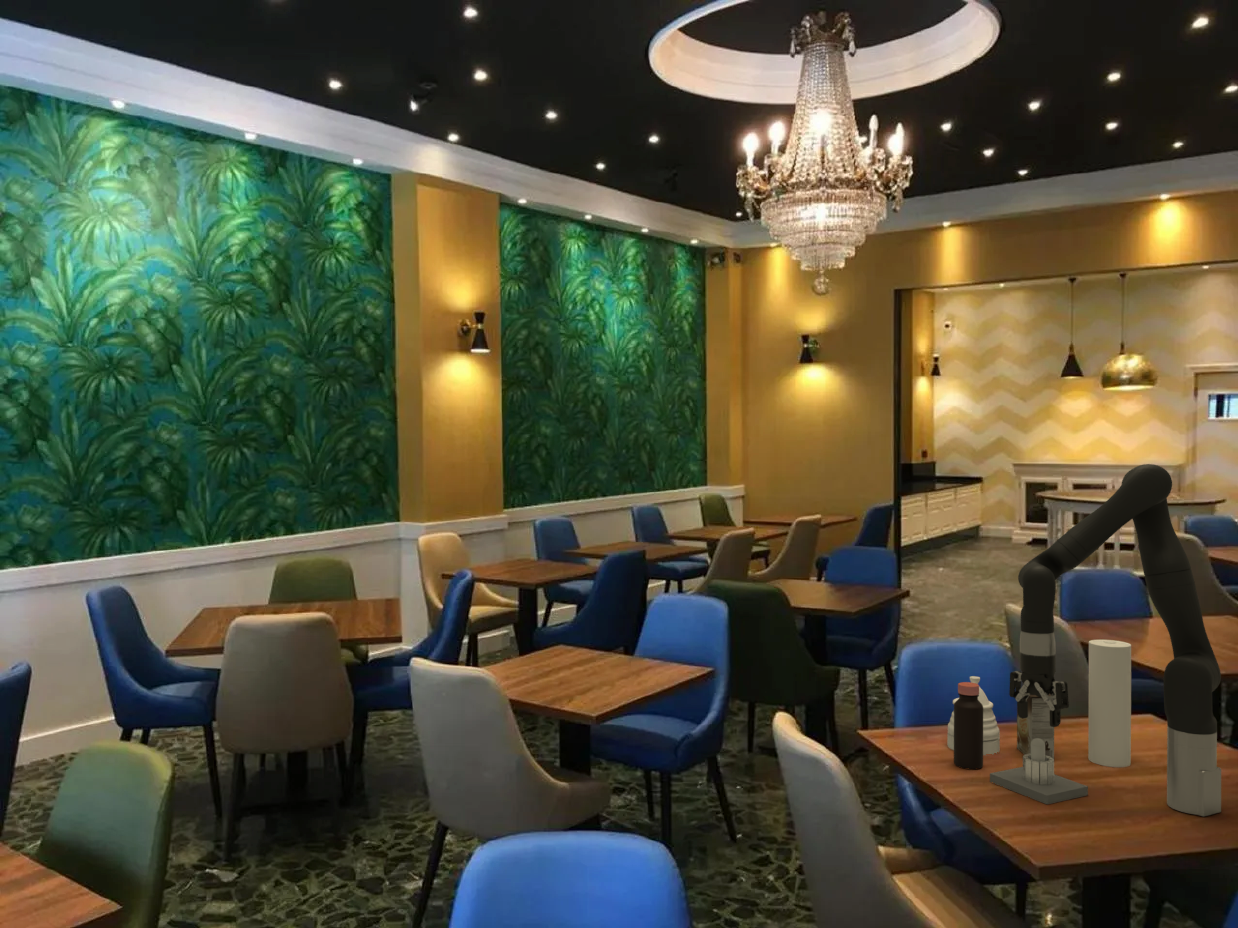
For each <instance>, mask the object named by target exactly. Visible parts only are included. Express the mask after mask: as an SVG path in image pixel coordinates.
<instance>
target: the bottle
mask: <svg viewBox="0 0 1238 928" xmlns="http://www.w3.org/2000/svg"><path fill="white" fill-rule="evenodd" d="M979 687H980V685H979V683H978V684H976V683H971V681H970V682H969V681H963V682H959V683H957V693H958V694H957V695H958V698H959V699H958V700H957V701H956V702H955V703H954V704H953V711H954V750H953V763H954V765H955V766H956V767H959V768H961V767H962V769H965V768H969V769H968V770H977V769H976V768H979V769H981V768H982V767H984V755H983V705H982V704H981V703H980V702H979V700H978V696H979Z"/></svg>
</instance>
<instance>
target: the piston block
mask: <svg viewBox="0 0 1238 928" xmlns="http://www.w3.org/2000/svg"><path fill="white" fill-rule="evenodd" d="M1031 759H1032V760H1035V761H1045V743H1044V741H1043V740H1042V739H1039V738H1035V739H1033V740H1032V742H1031ZM989 782H990V783H992V782H993V783H992V784H994V783H995V784H994V785H997V786H999V785H1000V787H1002V786H1003V787H1002V788H1005V789H1006V790H1010V791H1012V792H1015V793H1017V794H1019V795H1022V796H1025V797H1027V796H1028V797H1027V798H1029V797H1030V798H1029V799H1033V800H1035V801H1037V802H1039V803H1043V804H1045V805H1050V804H1055V803H1060V802H1064V801H1069V800H1074V799H1078V798H1082V797H1086V796H1089V786H1088V785H1085V784H1082V783H1081V782H1077V781H1074V780H1071V779H1069V778H1066V777H1064V776H1061V775H1057V774H1055V773H1054V782H1053V783H1052V784H1049V785H1040V784H1034V783H1030V782H1027V781H1025V780H1024V779H1023V766H1021V767H1014V768H1010V769H1005V770H1000V771H995V772H990V773H989Z"/></svg>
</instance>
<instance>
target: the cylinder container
mask: <svg viewBox="0 0 1238 928" xmlns="http://www.w3.org/2000/svg"><path fill="white" fill-rule="evenodd" d="M1087 727H1088V736H1087V737H1088V738H1087V739H1088V743H1087V744H1088V745H1087V746H1088V752H1087V753H1088V755H1087V757H1088V760H1089V762H1092V763H1094V764H1095V765H1100V766H1103V767H1108V768H1109V767H1110V768H1127V767H1130V766H1131V762H1132V761H1131V757H1132V756H1131V755H1132V751H1131V748H1132V746H1131V745H1132V743H1131V742H1132V741H1131V739H1132V738H1131V737H1132V644H1131V643H1129V642H1125V641H1122V640H1116V639H1115V640H1113V639H1091V640H1089V641H1088V726H1087Z"/></svg>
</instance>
